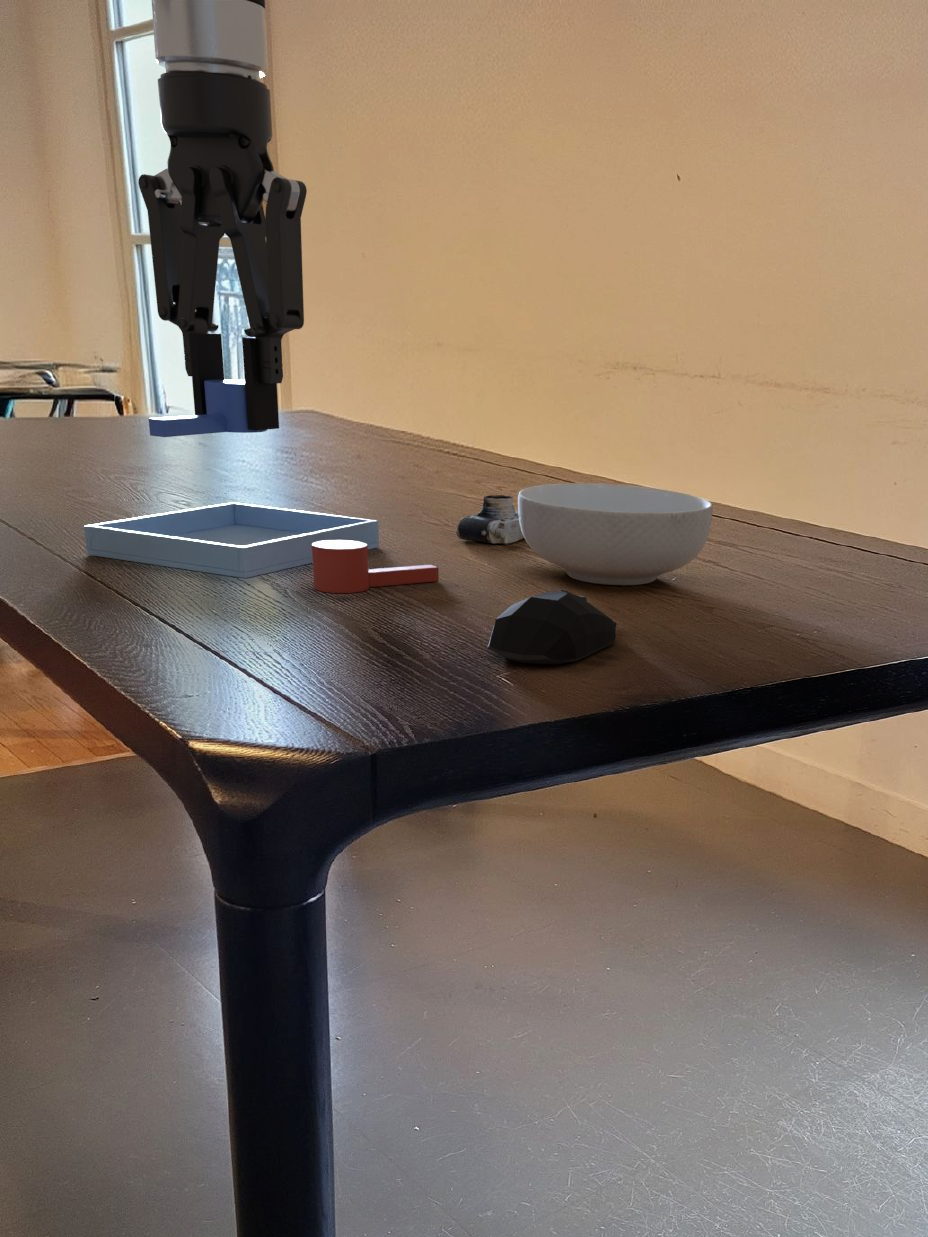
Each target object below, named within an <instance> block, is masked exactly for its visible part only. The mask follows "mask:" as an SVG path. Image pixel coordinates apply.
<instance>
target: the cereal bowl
mask: <svg viewBox="0 0 928 1237" xmlns="http://www.w3.org/2000/svg"><path fill="white" fill-rule="evenodd" d="M517 495H518V496H517V511H518V515H519V523H520V526H521V531H522V535H523V536H524V538H523V539H524V540H525V542H526V544H527V545H528V546H529V548H530V549H531V550H532V551H533V552H534V553H535V554H537V555H538V556H539V557H540V558H541V559H543V560H545V561H547V562H549V563H550V564H552V565H555V566H556V567H559V568H560V569H563V570H564V571H565V573H566V575H567V576H569V578H572V579H574V580H577V581H580V582H584V583H591V584H595V585H596V584H597V585H605V586H606V585H607V586H638V585H645V584H650V583H652V582H655V581H656V580H657V579H658V577H659V576H661V575H664V574H667V573H669V572H673V571H676V570H678V569H681V568H683V567H685V566H686V565H688V564H690V563H691V562H692V561H694V560H695V558H697V557H698V556H699V554H700V553H701V551H703V549H704V546H705V545H706V542H707V541H708V537H709V534H710V530H711V525H712V519H713V510H714V509H713V508H714V507H713V506H714V505H713V504H712V502H710V500H707V499H705V498H702V497H699V496H695V495H692V494H688V493H683V492H679V491H672V490H668V489H661V488H656V487H646V486H638V485H629V484H627V485H626V484H618V483H617V484H615V483H614V484H613V483H595V482H591V483H589V482H588V483H587V482H576V483H575V482H569V483H552V484H551V483H549V484H540V485H539V484H538V485H534V486H529V487H525V488H523V489H521V490H519V492H518V494H517Z"/></svg>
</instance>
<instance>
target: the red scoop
mask: <svg viewBox="0 0 928 1237" xmlns="http://www.w3.org/2000/svg"><path fill="white" fill-rule="evenodd" d="M312 562H313V563H312V578H313V589H314V590H316V591H319V592H322V593H330V594H354V593H361V592H365V591H368V590H369V589H370V588H375V587H377V588H378V587H388V586H401V585H412V584H425V583H434V582H439V580H440V578H439V577H440V575H439V567H438V566H435V565H432V564H424V565H423V564H421V565H409V566H397V567H384V568H383V567H380V568H369V550H368V545H367V544H366V543H363V542H359V541H352V540H324V541H318V542H314V543H312Z"/></svg>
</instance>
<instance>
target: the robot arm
mask: <svg viewBox="0 0 928 1237" xmlns="http://www.w3.org/2000/svg"><path fill="white" fill-rule="evenodd" d="M151 13H152V26H153V42H154V56H155V57H154V58H155V61H156V63H157V64H158V65H159V66H161V67H163V68H165V72H162V73H161V74H160V76H159V78H157V89H158V90H157V91H158V101H159V111H160V113H159V114H160V124H161V129H162V130H163V132H164V133H165V134H166V135H167V137H168V140H169V143H170V147H169V154H168V157H167V162H166V168H165V169H163V170H162V171H160V172H158V173H156V174H155V175H152V174H146V173H145V174H144V173H143V174H141V175H140V176H139V178H138V182H137V183H138V187H139V191H140V193H141V197H142V199H143V202H144V205H145V207H146V211H147V218H148V229H149V230H148V231H149V240H150V250H151V258H152V269H153V279H154V287H155V288H154V289H155V298H156V307H157V314H158V317H159V318H160V319H161V320H162V321H165V322H167V321H168V322H169V323H171V324H173V325H175V326H177V327H178V329H179V330H180V331H181V334H182V343H183V344H182V345H183V355H184V368H185V371H186V374H187V377H191V381H192V382H191V383H192V396H193V407H194V415H205V414H207V411H206V399H205V386H204V381H205V380H225V369H224V355H223V354H224V353H223V342H222V341H223V340H222V339H223V338H222V333H216V332H217V331H218V330H219V325H218V324H216V323H213V317H214V308H215V307H214V306H215V296H216V284H217V273H218V264H219V263H218V262H219V252H220V251H219V250H220V242H221V239H222V238H223V237H224V236H227V237H228V238H229V241H230V244H231V248H232V252H233V258H234V262H235V266H236V271H237V275H238V280H239V284H240V289H241V294H242V298H243V302H244V306H245V311H246V317H247V320H248V324H249V328H246V329H243V331H244V334H245V335H246V336H242V337H241V342H242V343H241V344H242V360H243V375H244V380H245V392H246V407H247V423H248V430H267V431H268V430H278V429H280V417H279V400H278V399H279V398H278V384H282V382H283V378H284V369H283V367H284V366H283V348H282V341H283V340H282V339H283V337H284V335H286V334H287V333H290V332H292V331H294V330H301V329H302V328H303V327H304V324H305V310H304V309H305V308H304V305H305V304H304V279H303V276H304V275H303V274H304V273H303V249H302V248H303V247H302V244H303V242H302V215H303V211H304V206H305V202H306V199H307V198H306V197H307V190H308V189H307V186H306V184H305V183H304V182H303V181H302V180H297V179H296V180H295V179H290V178H287V177H285V176H283V175H281V174H280V173H278V172H276V171H275V168H274V165H273V162H272V161H271V158H270V155H269V151H268V145H269V144H268V143H271V141H272V139H273V122H272V121H273V120H272V105H271V103H272V102H271V89H269V88H268V86H267V85H266V84H265V82H261V78H263V77H265V76H266V75H267V74H268V73H269V60H268V59H269V57H268V56H269V55H268V38H267V37H268V36H267V18H266V0H151ZM263 202H266V206H265V210H264V206H263Z"/></svg>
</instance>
